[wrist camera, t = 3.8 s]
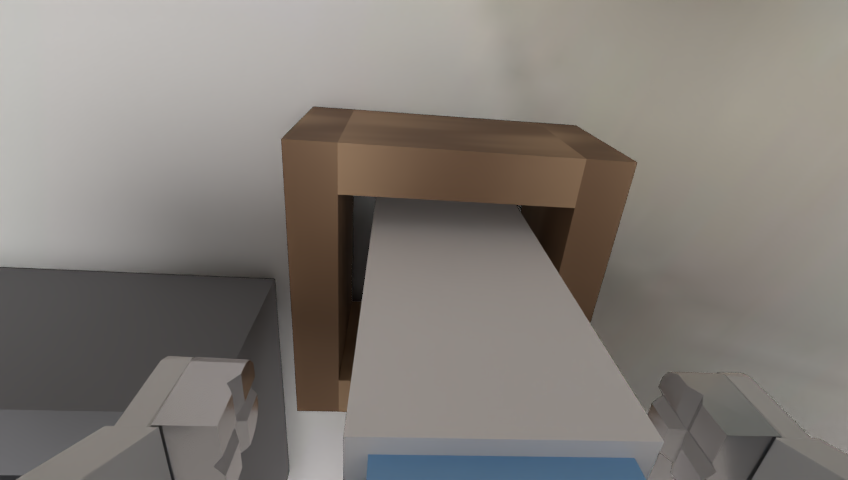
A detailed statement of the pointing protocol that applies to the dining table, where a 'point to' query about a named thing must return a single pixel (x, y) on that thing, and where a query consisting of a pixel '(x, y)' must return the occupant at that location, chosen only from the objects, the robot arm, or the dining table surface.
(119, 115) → the dining table surface
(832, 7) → the dining table surface
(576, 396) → the plug
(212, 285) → the port
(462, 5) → the dining table surface
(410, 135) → the holster
